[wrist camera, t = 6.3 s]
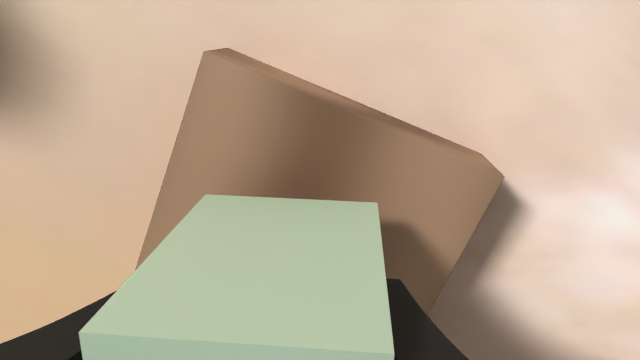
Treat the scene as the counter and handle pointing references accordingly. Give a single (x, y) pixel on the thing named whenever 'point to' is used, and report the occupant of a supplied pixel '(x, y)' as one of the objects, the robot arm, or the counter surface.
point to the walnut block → (324, 165)
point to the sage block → (254, 287)
